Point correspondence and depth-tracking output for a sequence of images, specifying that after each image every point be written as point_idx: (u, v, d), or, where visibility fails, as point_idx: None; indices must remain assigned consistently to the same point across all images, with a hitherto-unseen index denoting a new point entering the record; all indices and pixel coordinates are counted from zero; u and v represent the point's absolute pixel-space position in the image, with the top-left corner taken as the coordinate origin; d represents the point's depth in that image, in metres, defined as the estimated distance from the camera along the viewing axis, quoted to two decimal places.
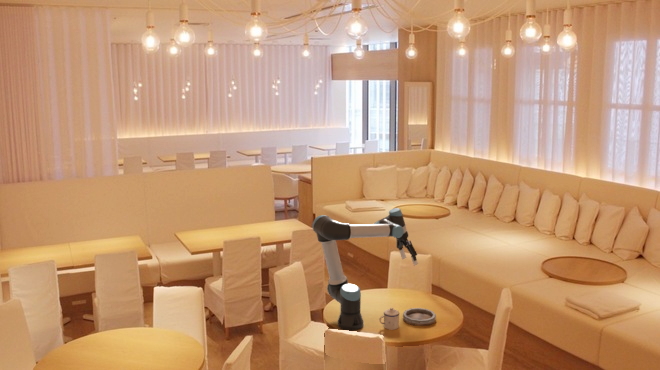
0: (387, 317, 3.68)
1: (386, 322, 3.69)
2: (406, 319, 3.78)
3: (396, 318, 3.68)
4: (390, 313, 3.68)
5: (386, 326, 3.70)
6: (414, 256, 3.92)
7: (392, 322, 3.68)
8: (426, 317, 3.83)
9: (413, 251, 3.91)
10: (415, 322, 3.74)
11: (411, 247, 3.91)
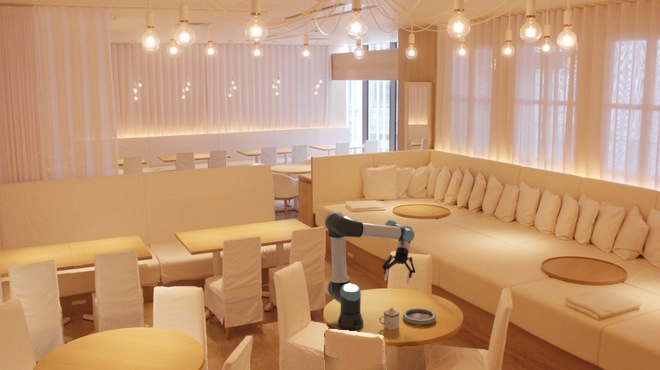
0: (387, 317, 3.68)
1: (386, 322, 3.69)
2: (406, 319, 3.78)
3: (396, 318, 3.68)
4: (390, 313, 3.68)
5: (386, 326, 3.70)
6: (411, 272, 3.81)
7: (392, 322, 3.68)
8: (426, 317, 3.83)
9: None
10: (415, 322, 3.74)
11: (412, 263, 3.85)
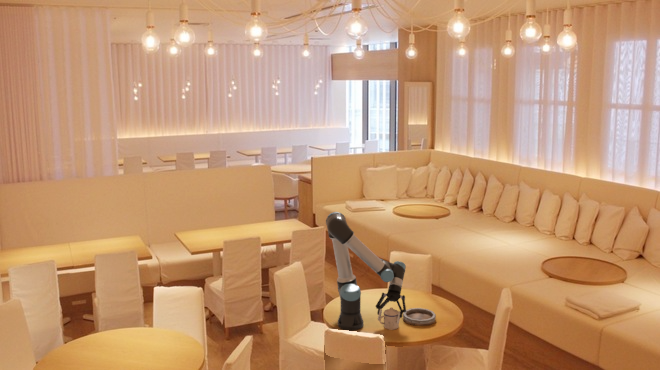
0: (387, 317, 3.68)
1: (386, 322, 3.69)
2: (406, 319, 3.78)
3: (396, 318, 3.68)
4: (390, 313, 3.68)
5: (386, 326, 3.70)
6: (402, 312, 3.69)
7: (392, 322, 3.68)
8: (426, 317, 3.83)
9: (405, 306, 3.71)
10: (415, 322, 3.74)
11: (404, 302, 3.73)
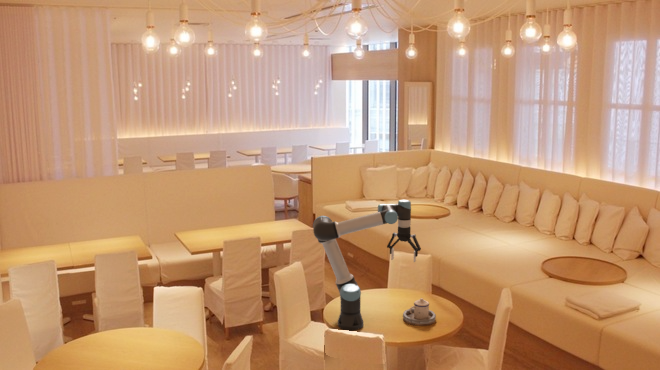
0: (417, 307, 3.79)
1: (416, 312, 3.80)
2: (406, 319, 3.78)
3: (426, 308, 3.79)
4: (420, 303, 3.78)
5: (416, 316, 3.80)
6: (417, 251, 3.78)
7: (422, 312, 3.78)
8: None
9: (418, 245, 3.77)
10: (415, 322, 3.74)
11: (416, 241, 3.77)
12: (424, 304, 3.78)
